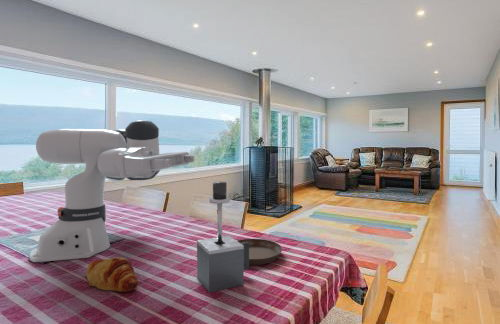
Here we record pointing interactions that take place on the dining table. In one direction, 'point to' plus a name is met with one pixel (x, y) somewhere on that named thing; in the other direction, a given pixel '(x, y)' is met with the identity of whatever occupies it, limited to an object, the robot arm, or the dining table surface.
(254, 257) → the plant saucer
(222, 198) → the plunger
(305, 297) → the dining table surface
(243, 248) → the matte gray cube
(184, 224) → the dining table surface
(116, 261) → the croissant
